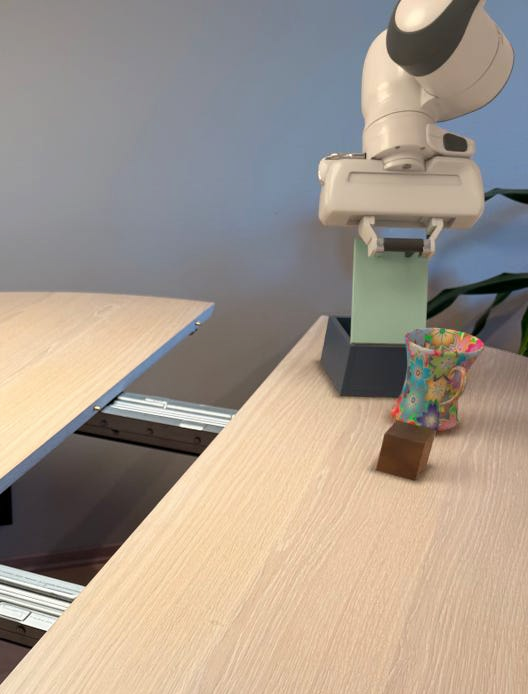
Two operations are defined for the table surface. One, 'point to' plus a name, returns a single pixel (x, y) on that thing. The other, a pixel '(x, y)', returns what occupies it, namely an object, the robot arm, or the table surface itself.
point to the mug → (435, 376)
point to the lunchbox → (362, 363)
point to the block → (405, 450)
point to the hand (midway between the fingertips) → (401, 255)
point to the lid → (388, 292)
